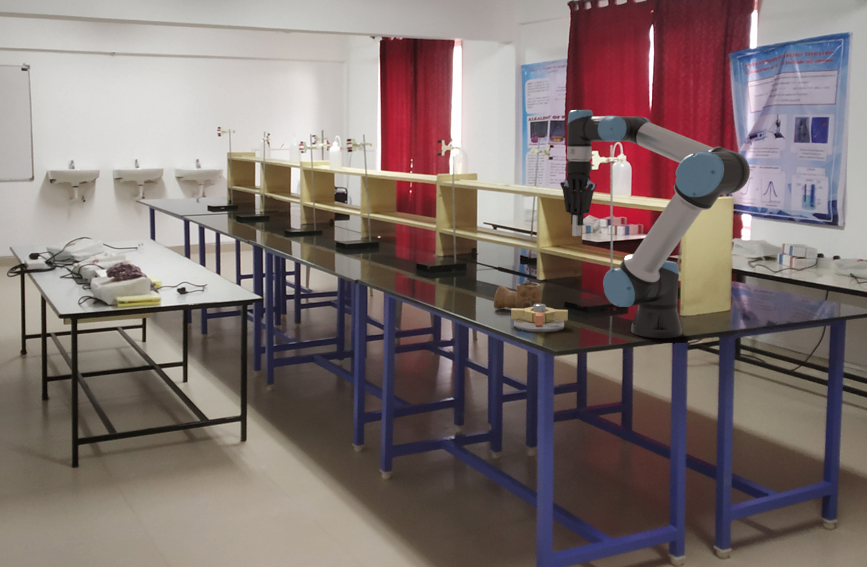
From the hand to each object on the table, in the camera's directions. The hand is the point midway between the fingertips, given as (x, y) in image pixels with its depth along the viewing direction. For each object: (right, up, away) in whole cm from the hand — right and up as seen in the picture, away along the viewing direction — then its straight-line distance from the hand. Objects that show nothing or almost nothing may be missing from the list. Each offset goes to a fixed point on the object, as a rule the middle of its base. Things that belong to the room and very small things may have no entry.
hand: (576, 235), depth 269 cm
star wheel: (-11, -27, +4) cm, 29 cm away
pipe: (-16, -25, +28) cm, 41 cm away
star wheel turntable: (-11, -29, +5) cm, 32 cm away
